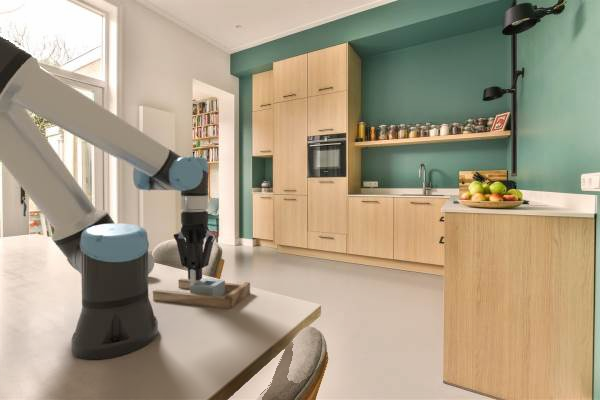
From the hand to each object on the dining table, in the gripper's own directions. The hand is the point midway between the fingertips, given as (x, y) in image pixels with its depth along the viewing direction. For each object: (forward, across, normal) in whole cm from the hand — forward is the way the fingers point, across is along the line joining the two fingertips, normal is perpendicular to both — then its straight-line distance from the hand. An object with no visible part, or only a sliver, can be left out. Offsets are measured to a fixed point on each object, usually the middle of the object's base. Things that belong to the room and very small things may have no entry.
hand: (195, 290), depth 88 cm
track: (+1, -2, 0) cm, 3 cm away
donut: (+2, +30, -11) cm, 32 cm away
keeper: (+1, -4, 0) cm, 4 cm away
